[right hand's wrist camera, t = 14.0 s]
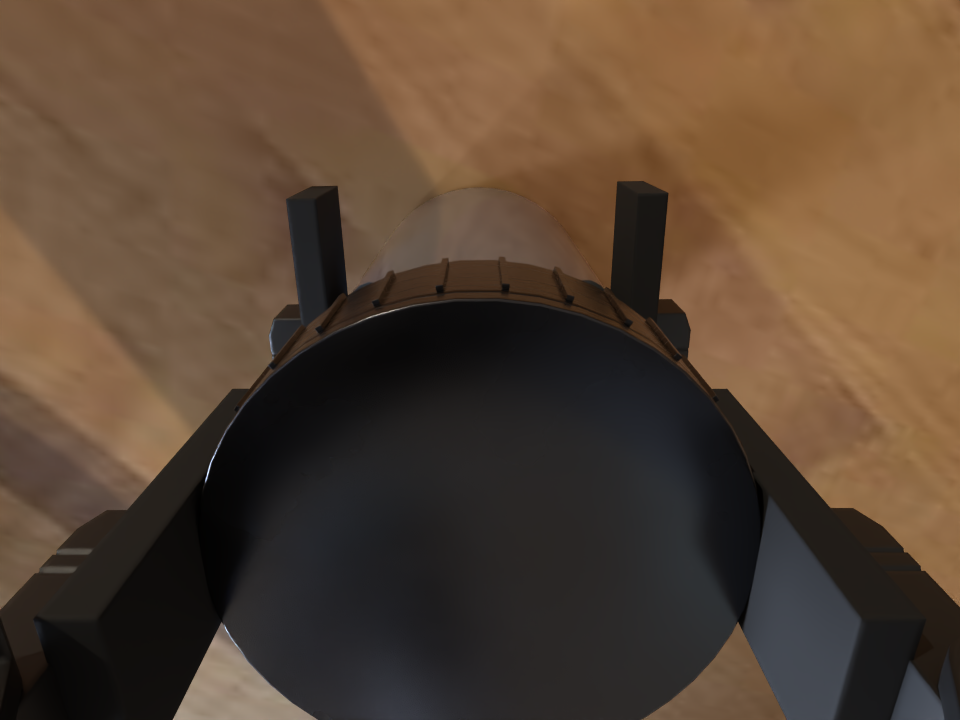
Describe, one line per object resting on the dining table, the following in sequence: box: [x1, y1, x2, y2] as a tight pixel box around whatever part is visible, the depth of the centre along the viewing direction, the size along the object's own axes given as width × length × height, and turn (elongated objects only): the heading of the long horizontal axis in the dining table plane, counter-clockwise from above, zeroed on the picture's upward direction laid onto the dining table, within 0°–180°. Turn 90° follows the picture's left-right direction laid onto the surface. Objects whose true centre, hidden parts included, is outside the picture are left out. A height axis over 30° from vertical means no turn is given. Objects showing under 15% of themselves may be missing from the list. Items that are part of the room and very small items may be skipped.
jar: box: [351, 187, 605, 294], centre depth 18 cm, size 8×8×16 cm
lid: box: [198, 257, 761, 720], centre depth 11 cm, size 9×9×2 cm
